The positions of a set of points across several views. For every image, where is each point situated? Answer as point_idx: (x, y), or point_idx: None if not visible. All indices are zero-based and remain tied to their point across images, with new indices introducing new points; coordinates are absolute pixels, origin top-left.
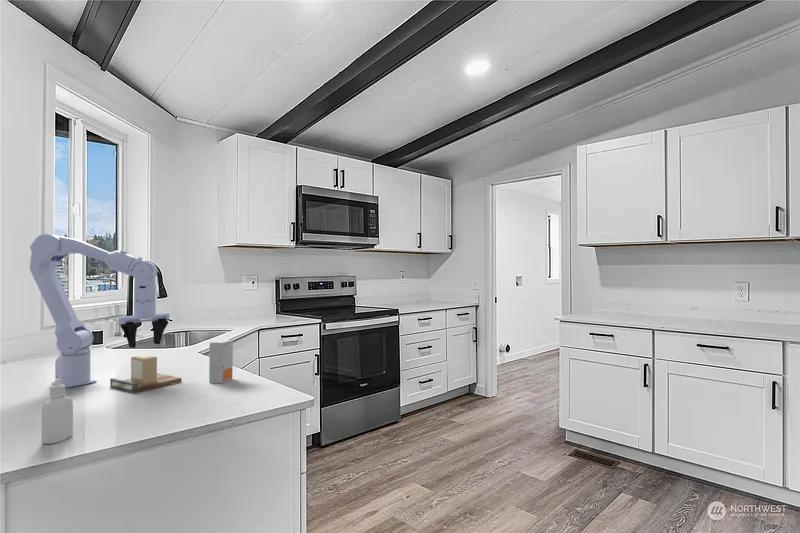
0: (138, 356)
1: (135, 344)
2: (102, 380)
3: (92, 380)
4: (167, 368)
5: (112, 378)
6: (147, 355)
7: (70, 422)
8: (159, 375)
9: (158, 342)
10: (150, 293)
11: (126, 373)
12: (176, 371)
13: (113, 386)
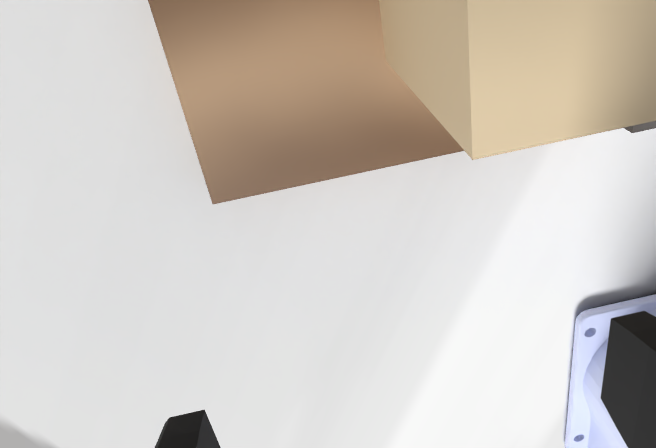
0: (599, 95)
1: (649, 346)
2: (523, 343)
3: (596, 334)
4: (56, 426)
5: (648, 124)
6: (476, 77)
7: None
8: (230, 94)
9: (194, 431)
10: None
11: (336, 434)
12: (10, 293)
13: None
